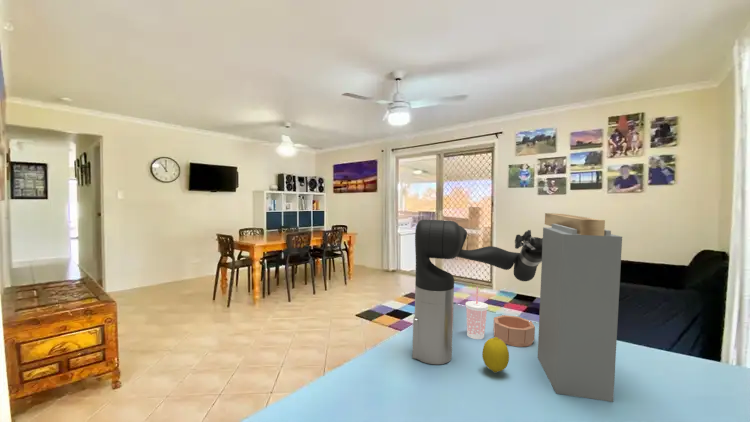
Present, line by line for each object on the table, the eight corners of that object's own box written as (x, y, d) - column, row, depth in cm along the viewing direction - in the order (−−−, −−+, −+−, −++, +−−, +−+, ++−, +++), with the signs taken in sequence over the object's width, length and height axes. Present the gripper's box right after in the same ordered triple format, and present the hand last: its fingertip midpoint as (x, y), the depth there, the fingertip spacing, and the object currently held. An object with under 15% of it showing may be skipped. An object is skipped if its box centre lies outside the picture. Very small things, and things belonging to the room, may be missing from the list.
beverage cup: (480, 330, 95) (482, 283, 95) (491, 340, 89) (493, 289, 89) (460, 331, 94) (462, 283, 94) (469, 341, 88) (471, 290, 88)
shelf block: (556, 393, 65) (563, 229, 64) (537, 357, 80) (543, 223, 78) (613, 401, 63) (622, 231, 61) (583, 363, 77) (590, 224, 76)
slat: (580, 234, 63) (581, 219, 63) (544, 224, 88) (545, 213, 88) (604, 235, 62) (604, 220, 62) (560, 224, 87) (561, 213, 87)
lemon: (510, 380, 69) (512, 344, 69) (483, 377, 71) (484, 341, 70) (505, 367, 75) (507, 333, 74) (480, 364, 76) (481, 331, 76)
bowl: (496, 344, 87) (496, 327, 87) (491, 329, 96) (492, 314, 96) (537, 349, 84) (537, 331, 84) (528, 333, 94) (529, 317, 94)
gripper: (510, 240, 113) (518, 221, 99) (555, 242, 110) (571, 222, 96) (511, 261, 110) (520, 244, 96) (558, 264, 106) (574, 246, 92)
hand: (545, 233), depth 96 cm, fingers open, 8 cm apart
